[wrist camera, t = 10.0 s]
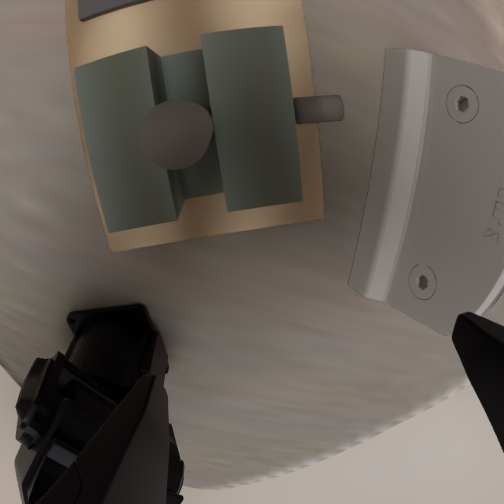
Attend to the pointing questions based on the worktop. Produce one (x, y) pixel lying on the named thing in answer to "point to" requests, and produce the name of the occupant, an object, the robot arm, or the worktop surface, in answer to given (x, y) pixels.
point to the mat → (102, 7)
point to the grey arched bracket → (435, 191)
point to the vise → (198, 118)
